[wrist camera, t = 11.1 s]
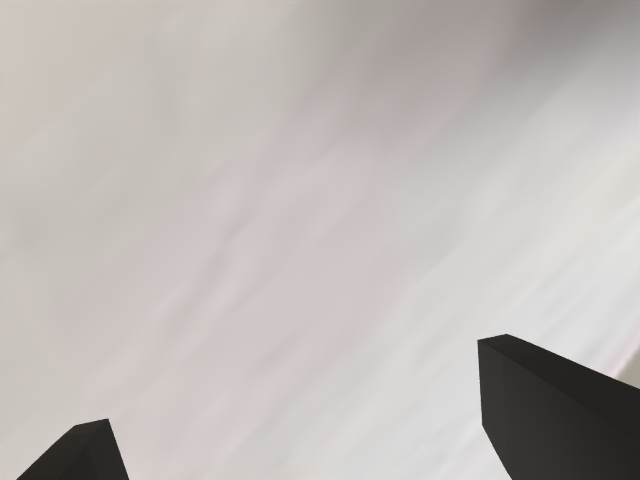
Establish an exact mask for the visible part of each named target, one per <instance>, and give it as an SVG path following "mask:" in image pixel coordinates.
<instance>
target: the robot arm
mask: <svg viewBox="0 0 640 480" xmlns="http://www.w3.org/2000/svg"><path fill="white" fill-rule="evenodd" d="M477 341H478V358H479V376H480V393H481V411H482V426H483V428H484V430H485V432H486V433H487V435H488V437H489V439H490V441H491V443H492V445H493V447H494V449H495V451H496V453H497V455H498V456H499V458H500V460H501V462H502V464H503V466H504V467H505V469H506V471H507V473H508V474H509V476H510V477H511V479H512V480H640V389H638V388H636V387H633V386H630V385H628V384H625V383H623V382H621V381H618V380H616V379H613V378H611V377H608V376H606V375H604V374H601V373H599V372H597V371H594V370H592V369H589V368H587V367H585V366H582V365H580V364H578V363H576V362H573V361H571V360H569V359H566V358H564V357H562V356H559V355H557V354H555V353H553V352H550V351H548V350H546V349H543V348H541V347H539V346H536V345H534V344H532V343H529V342H527V341H524V340H522V339H519V338H517V337H514V336H511V335H508V334H504V335H499V336H495V337H490V338H485V339H480V340H477ZM16 480H129V478H128V475H127V472H126V469H125V466H124V463H123V460H122V457H121V454H120V451H119V449H118V446H117V443H116V440H115V437H114V434H113V431H112V428H111V425H110V422H109V419H103V420H98V421H93V422H89V423H84V424H79V425H75V426H74V427H72V428H71V429H70V430H69V431H68V432H66V433H65V434H64V435H63V436H62V437H61V438H60V439H58V440H57V441H56V442H55V443H54V444H53V445H52V446H51V447H50V448H49V449H48V450H47V451H46V452H45V453H44V454H42V455H41V456H40V457H39V458H38V459H37V460H36V461H35V462H34V463H33V464H32V465H31V466H30V467H29V468H28V469H27V470H26V471H25V472H24V473H23V474H22V475H21V476H20V477H19V478H18V479H16Z"/></svg>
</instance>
